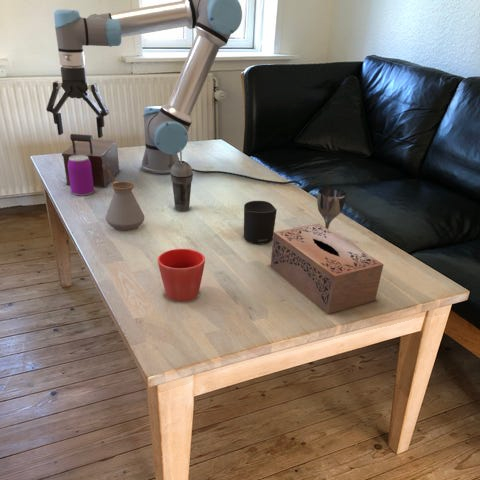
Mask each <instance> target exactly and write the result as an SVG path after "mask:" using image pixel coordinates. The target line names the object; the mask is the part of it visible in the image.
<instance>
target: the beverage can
mask: <svg viewBox="0 0 480 480" xmlns="http://www.w3.org/2000/svg"><path fill="white" fill-rule="evenodd" d="M68 172H69V180H70V185H69V186H70V192H71V193H72V194H74V195H76V196H78V197H79V196H80V197H81V196H82V197H83V196H89V195H91V194H93V192H94V191H95V190H94V189H95V187H94V186H93V177H92V168H91V162H90V160H89V159H88V157H87V156H85V155H73V156H70V157H69V160H68Z"/></svg>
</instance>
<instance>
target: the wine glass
mask: <svg viewBox="0 0 480 480" xmlns="http://www.w3.org/2000/svg"><path fill="white" fill-rule="evenodd" d="M346 199H347V192H346V191H345V190H344V189H341V188H338V187H330V186H329V187H321V188H319V189H318V191H317V198H316V204H317V210H318V213H319V214H320V216H321V217H322V218H323V220H324V224H325V225H324V227H325V228H327V229H328V230H329V228H330V225H331V223H332V221H333V220H335V219H336V218H337V217H338V216H339V215H340V214H341V213H342V211H343V210H344V209H343V208H344V206H345V203H346Z"/></svg>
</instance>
